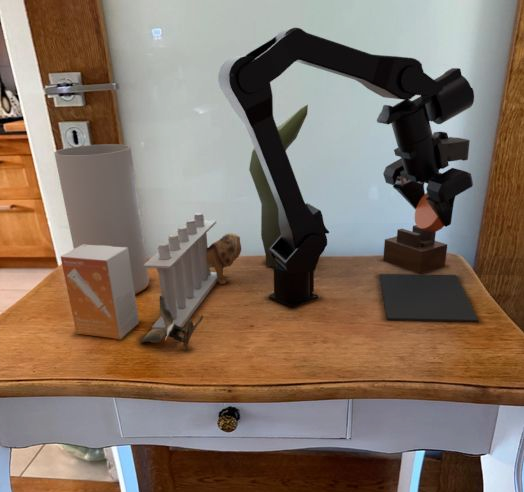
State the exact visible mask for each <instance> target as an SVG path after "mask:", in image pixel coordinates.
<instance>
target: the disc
mask: <svg viewBox="0 0 524 492" xmlns="http://www.w3.org/2000/svg"><path fill="white" fill-rule="evenodd" d="M428 197H429V195H428V193H427V192H425V195H424V196H423V197H422V198H421V200H420V201H419V203H418V205H417V207H416V210H415V211H414V223H415V225H417V226H418V227H419V228H421V229H424V230H426V231H429V232H436V233H437V232H438V231H440V230H441V229H443V228H444V227H445V226H444V225H443V223H442V222H441V221H440V219H439V218H438V217H437V215H436V214H435V212H434V211H433V209H432V208H431V206H430V205H429V203H428V202H427V201H426V198H428Z"/></svg>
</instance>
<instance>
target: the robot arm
mask: <svg viewBox="0 0 524 492" xmlns="http://www.w3.org/2000/svg"><path fill="white" fill-rule="evenodd" d="M296 62H297V63H300V64H303V65H306V66H308V67H312V68H316V69H318V70H323V71H326V72H329V73H332V74H335V75H337V76H338V75H339V76H341V77H344V78H348V79H350V80H354V81H356V82H358V83H360V84H361V85H362V86H364V87H365V88H366V89H368V90H369V91H370V92H373V93H375V94H376V95H378V96H380V97H382V98H386V99H393V100H401V101H400V102H397V103H396V104H394V105H390V104H389V105H388V104H383V105H382V109H381V111H380V112H379V114H378V116H377V118H376V123H377V124H384V125H391V128H392V131H393V134H394V138H395V141H396V145H397V147H396V148H395V149H393V152H394V155H395V156H396V157H399V159H397V160H396V161H394V162H392V163H390V164H388V165H387V166H385V168H384V171H383V173H382V175H383V177H384V180H385V183H386V184H388V185H391V186H392V188H393V189H394V190H396V191H397V193H399V195H400V196H402V197H403V198H404V200H405V201H407V203H408V204H410V206H411V207H412V208H413V209H414V210H415V211H416V207H417V205H418V203H419V201H420V200H421V198H422V197H423V196H424V195H425V194H426V193H428V195H429V197H428V198H426V201H427V202H428V203H429V205H430V206H431V208H432V209H433V211H434V212H435V214H436V215H437V217H438V218H439V219H440V221H441V222H442V223H443V225H444V227H445V228H446V227H448V226H450V225H451V224H452V219H453V211H454V204H455V201H456V200H455V199H456V197H457V196H458V195H460V194H462V193H463V192H465V191H467V190H469V189H471V188H472V187H473V186H474V181H473V176H472V173H470V172H469V171H465V170H463V169H458V168H455V167H451V168H449V169H447V170H446V171H444V172H440V170H444V169H446V168H447V167H449V166H450V164H449V162H457V161H462V162H463V161H468V160H469V152H470V142H471V140H470V139H467V138H463V137H462V138H461V137H454V136H453V137H452V136H449V134H448V132H446V131H434V132H433V131H432V127H431V123H430V122H432V123H434V124H437V125H442V124H443V123H445V122H447V121H449V120H451V119H452V118H454V117H456V116H458V115H459V114H461V113H463V112H465V111H467V110H469V109H470V108H471V107H472V106H473V105H474V102H475V92H474V88H473V87H472V86H471V84H470V82H469V81H468V80H467V78H466V77H465V76H463V75H462V71H461V68H460V67H451V68H450V69H448V70H446V71H445V72H444V73H443V74H441V75H440V76H438V77H437V78H432V77H431V76H429V75H428V74H427V73H425V71H424V68H423V63H422V62H420V60H418V59H416V58H414V57H406V56H397V55H381V54H371V53H368V52H367V51H363V50H361V49H360V50H359V49H357V48H354V47H351V46H349V45H345V44H342V43H339V42H336V41H333V40H330V39H327V38H324V37H321V36H319V35H315V34H312V33H309V32H306V31H305V30H303V29H302V28H300V27H289V28H285V29H282V30H281V31H279V32H278V33H277V34H276V35H275V36H274V37H271V39H269V40H267V41H266V42H264V43H262V44H260V45H259V46H257V47H255V48H254V49H252V50H251V51H249V52H248V53H246V54H245V55H234V56H231V57H229V58H227V59H225V60H224V62H223V63H222V65H220V68H219V72H218V74H217V80H218V85H219V89H220V90H221V91H222V93H223V95H224V97H225V98H226V100H227V102H228V103H229V104H230V107H231V108H232V109H233V110H234V112H235V114H236V115H237V116H238V117H239V119H240V120H241V121H242V123H243V125H244V126H245V128H246V130H247V132H248V135H249V138H250V140H251V143H252V145H253V148H255V150H256V153H257V155H258V158H259V160H260V163H261V166H262V168H263V171H264V173H265V176H266V178H267V181H268V183H269V186H270V188H271V191H272V193H273V196H274V198H275V201H276V203H277V206H278V210H279V227H280V232H281V236H280V237H279V238H278V239H277V240H276V242H275V243H274V244H273V245H272V246H271V247H270V249H269V251H270V254H271V256H272V259H273V260H275V261H276V262H277V265H276V266H274V267H273V293H269V294H268V298H269V299H270V300H273V301H274V302H278V303H279V304H282V305H284V306H286V307H288V308H296V307H298V306H301V305H304V304H307V303H309V302H312V301H315V300H317V299H319V294H317V293H314V291H315V290H314V289H315V285H314V283H315V271H316V268H317V266H318V264H319V260H320V258H321V255H322V254H323V253H324V251H325V249H326V247H327V246H328V237H327V234H328V235H329V234H330V231H329V230H328V229H327V228H326V226H325V222H324V217H323V216H324V215H323V213H322V210H321V209H318V208H317V207H315V206H313V205H311V204H309V203H308V202H305V200H304V198H303V197H304V196H303V195H302V191H301V189H300V186H299V183H298V181H297V179H296V176H295V172H294V170H293V166H292V165H291V162H290V159H289V156H288V154H287V150H286V151H285V148H284V145H283V142H282V140H281V137H280V134H279V131H278V129H277V127H278V126H277V124H276V121H275V118H274V99H273V98H274V97H273V91H272V85H271V82H273V81H274V80H276V79H277V78H278V77H280V76H281V75H282V74H283V73H285V71H287V69H289V68H290V67H291V66H292V65H293V64H295V63H296ZM416 96H418V97H416ZM414 97H416V98H415V99H413V98H414ZM411 99H413V100H411ZM425 184H427V185H426V188H425ZM425 189H426V191H425Z"/></svg>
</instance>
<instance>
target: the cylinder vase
mask: <svg viewBox="0 0 524 492" xmlns="http://www.w3.org/2000/svg"><path fill="white" fill-rule="evenodd" d="M53 154H54V158H55V164H56V169H57V174H58V179H59V183H60V189H61V193H62V198H63V202H64V208H65V212H66V217H67V223H68V227H69V232H70V237H71V241H72V247H73V249H75V248H77V247H79V246H81V245H84V244H85V245H98V246H99V245H104V246H113V247H127V248H128V252H129V259H130V265H131V272H132V278H133V285H134V291H135V295H137V294H139V293H140V292H142V291H144V290H145V289H146V288H147V287H148V286H149V285H150V277H149V268H144V267H143V265H144V264H145V263H146V262H147V261H148V260H147V254H146V249H145V248H146V247H145V240H144V232H143V225H142V218H141V211H140V205H139V197H138V189H137V183H136V176H135V169H134V162H133V155H132V147H131V146H130V145H127V144H118V143H108V144H107V143H105V144H103V143H102V144H88V145H79V146H71V147H66V148H61V149H57V150H56V151H54V152H53Z"/></svg>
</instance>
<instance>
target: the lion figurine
mask: <svg viewBox="0 0 524 492" xmlns="http://www.w3.org/2000/svg"><path fill="white" fill-rule="evenodd" d="M206 250H207V256H206V261H207V265H208V268H210V269H211V268H213V269H214V270H215V272H216V275H217V279H218V281H217V282H218V283H219V284H220V285H224V284H226V280H225V275H224V268H227V267H231V266H232V265H233V264H234V261H236V260H237V259H238V258H239V257H240V256H241V253H242V244H241V237H240V236H239V235H238V234H235V233H233V232H228V233H226V234H224V235H222V237H221V238H220V239H219V240H216V241H214V242H213V243H212V244H210V245H209V246H208V248H206Z"/></svg>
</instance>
